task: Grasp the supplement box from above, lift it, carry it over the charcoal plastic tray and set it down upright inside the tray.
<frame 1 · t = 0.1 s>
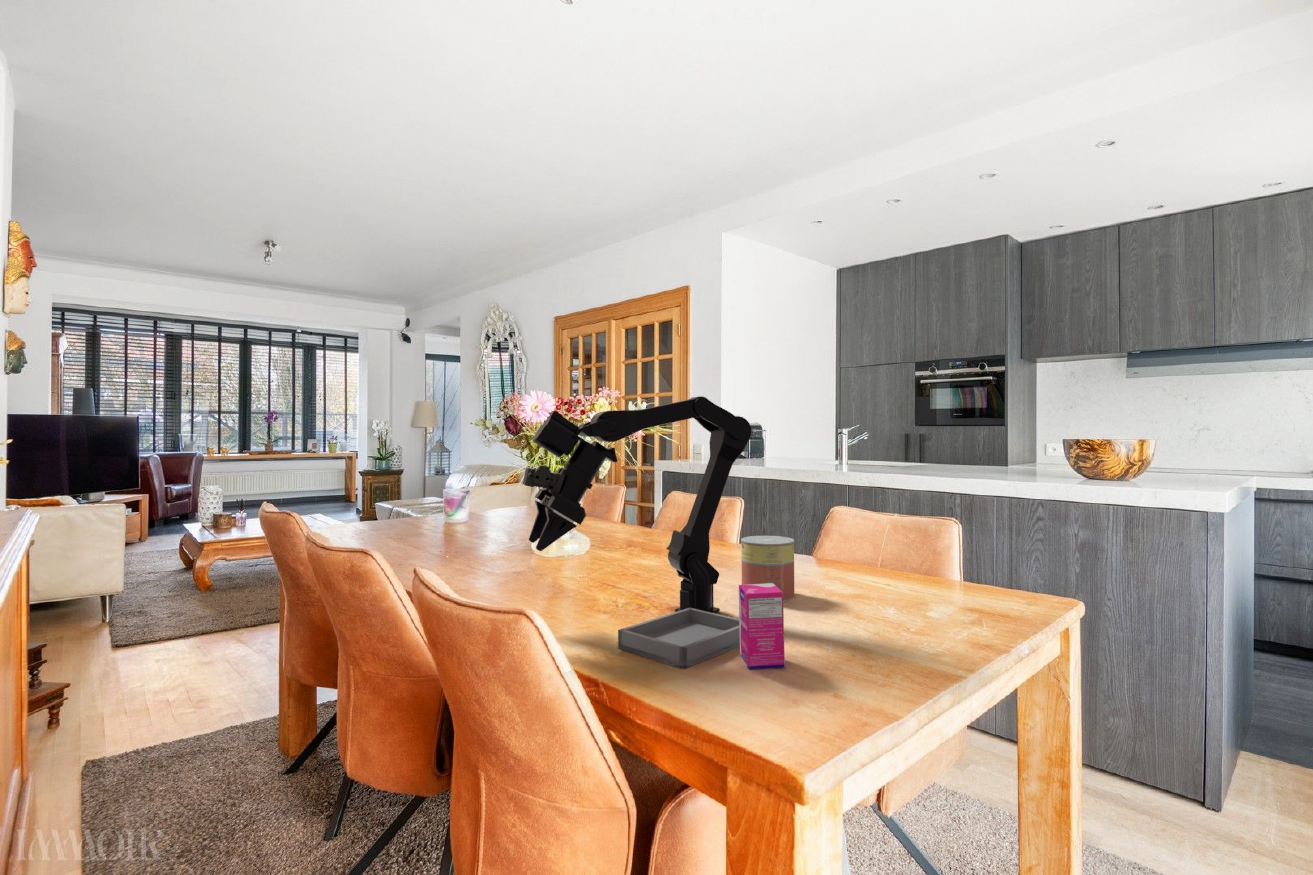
hand: (534, 545, 118), 15 cm above the table, tool tilted 35°, fingers open, 9 cm apart
canned food: (767, 596, 140), on the table
supplement box: (761, 663, 100), on the table
tray: (687, 644, 109), on the table
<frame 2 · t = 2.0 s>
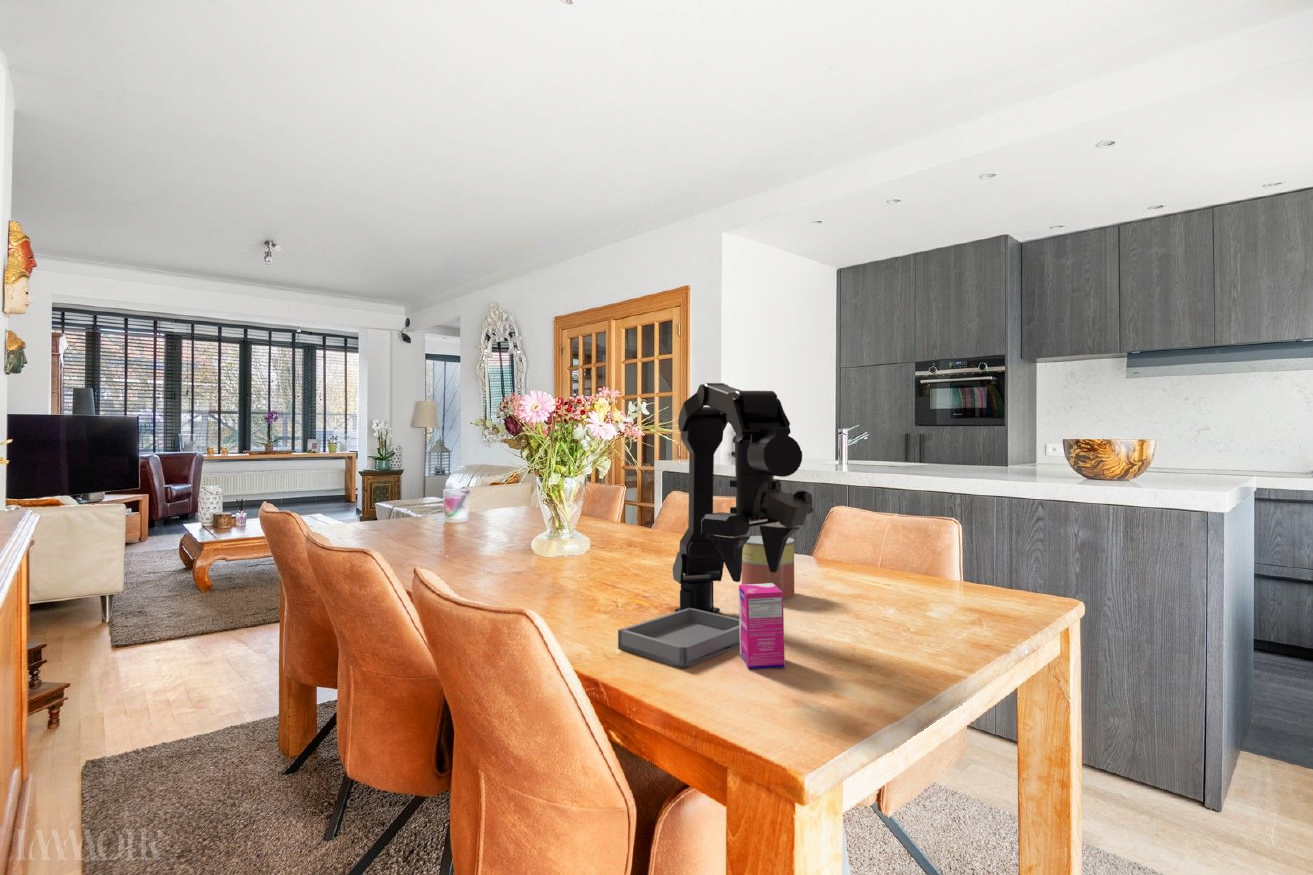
hand: (755, 576, 99), 13 cm above the table, tool pointing down, fingers open, 9 cm apart
nothing on the table moved.
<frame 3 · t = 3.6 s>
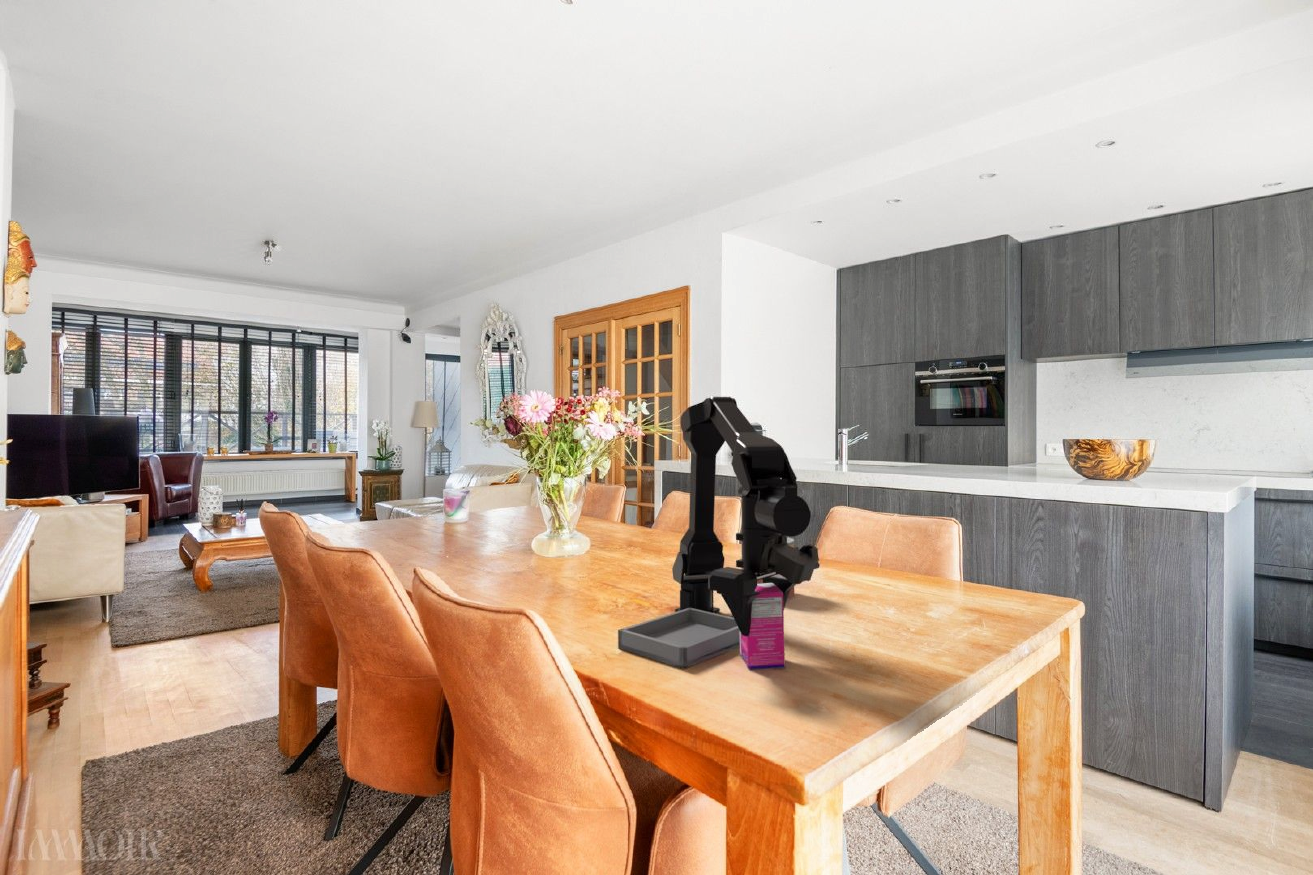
hand: (761, 629, 100), 5 cm above the table, tool pointing down, fingers closed on supplement box, 8 cm apart
supplement box: (761, 663, 100), on the table, touching gripper
everything else where it was.
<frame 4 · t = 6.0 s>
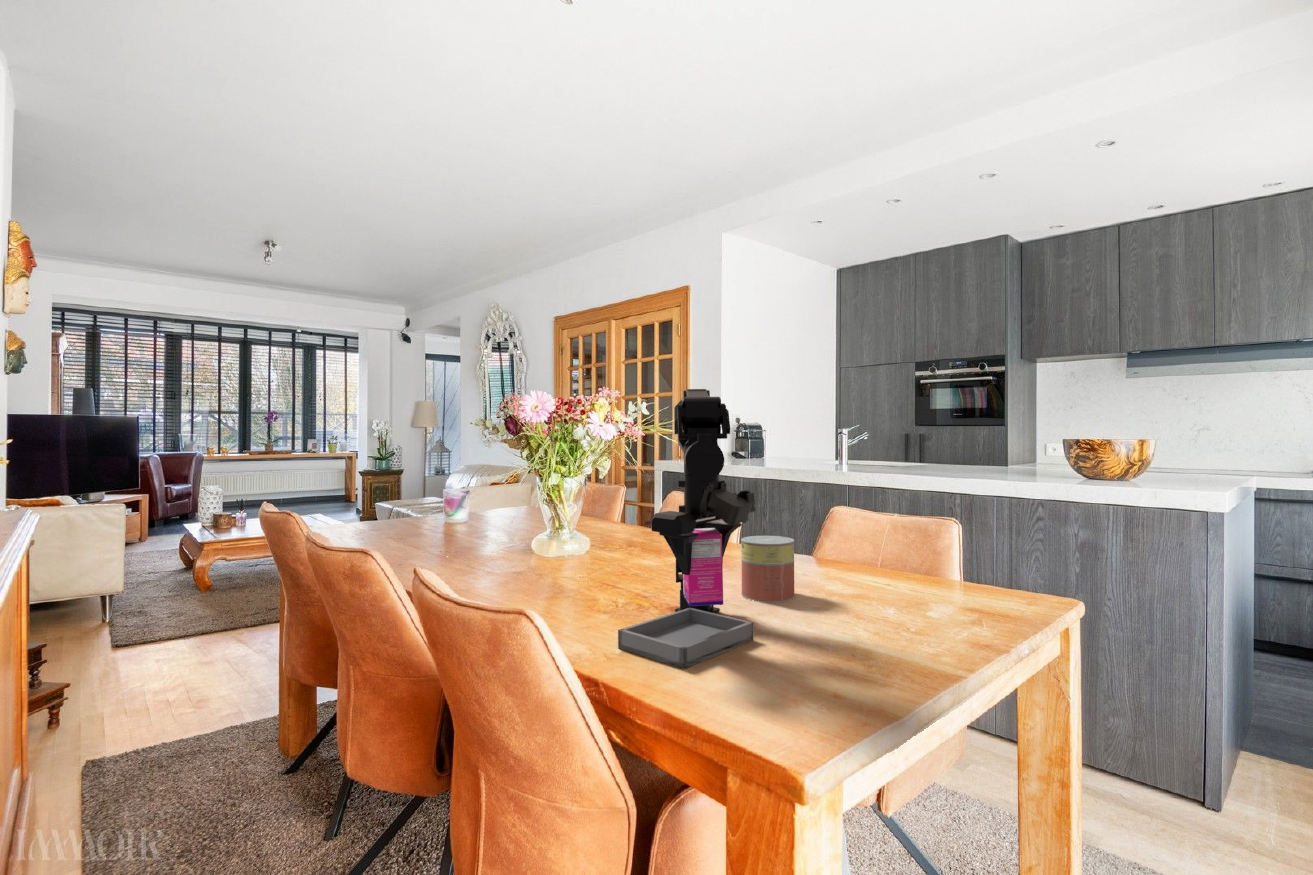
hand: (702, 570, 107), 13 cm above the table, tool pointing down, fingers closed on supplement box, 8 cm apart
supplement box: (702, 602, 107), point 7 cm above the table, touching gripper
everything else where it was.
when the fingers open (7 cm above the table, at t = 8.3 s): supplement box drops 1 cm, resting on tray.
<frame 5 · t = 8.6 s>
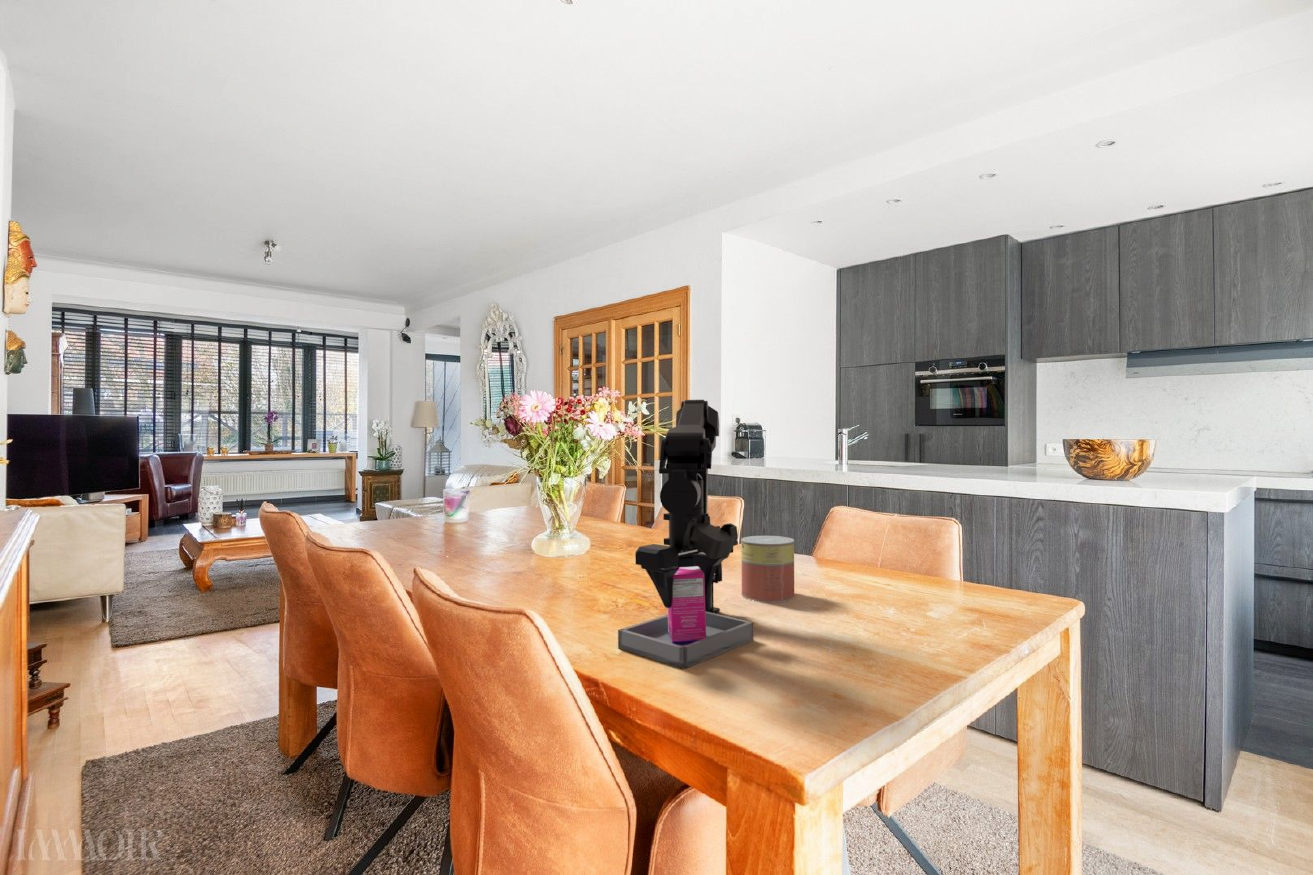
hand: (686, 601, 108), 7 cm above the table, tool pointing down, fingers open, 9 cm apart
supplement box: (686, 640, 109), point 1 cm above the table, touching tray
everything else where it was.
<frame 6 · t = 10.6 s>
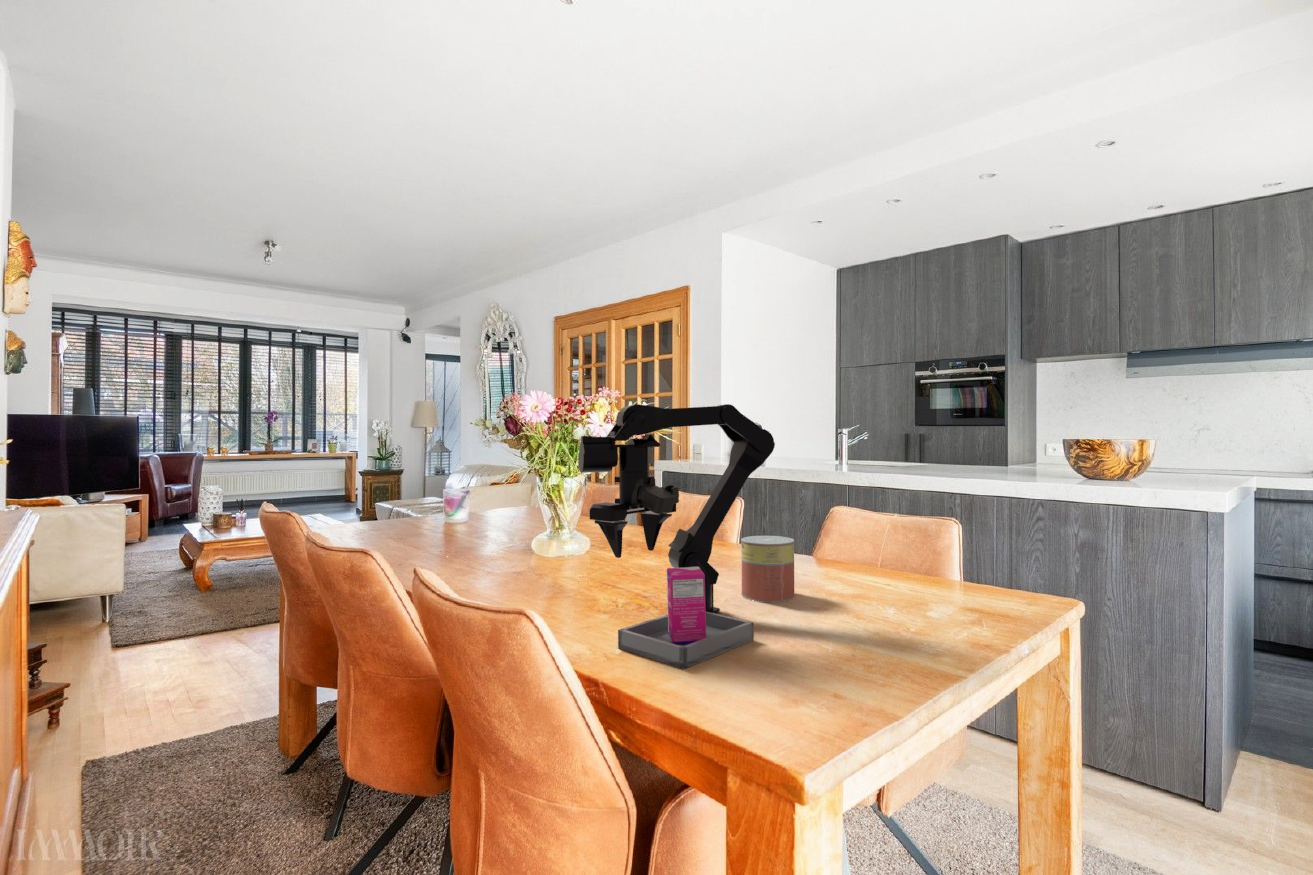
hand: (634, 553, 124), 12 cm above the table, tool pointing down, fingers open, 9 cm apart
nothing on the table moved.
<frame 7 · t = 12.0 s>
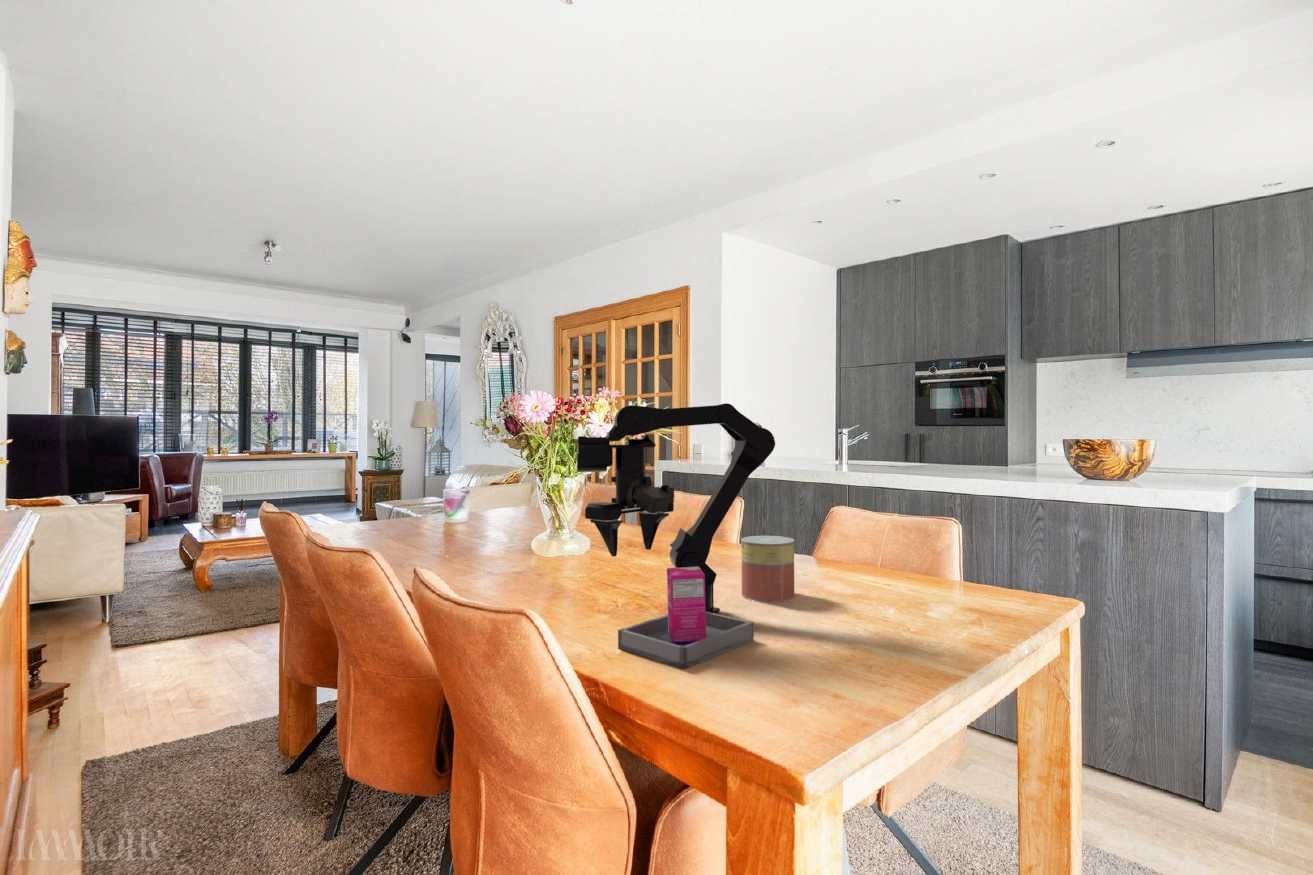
hand: (631, 552, 126), 12 cm above the table, tool pointing down, fingers open, 9 cm apart
nothing on the table moved.
at the end: supplement box inside the target area on the tray (0.1 cm from its centre), point 0.6 cm above the tray's base; supplement box tilted 0°; the gripper is holding nothing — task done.
